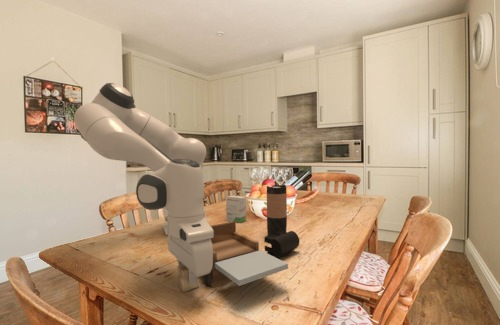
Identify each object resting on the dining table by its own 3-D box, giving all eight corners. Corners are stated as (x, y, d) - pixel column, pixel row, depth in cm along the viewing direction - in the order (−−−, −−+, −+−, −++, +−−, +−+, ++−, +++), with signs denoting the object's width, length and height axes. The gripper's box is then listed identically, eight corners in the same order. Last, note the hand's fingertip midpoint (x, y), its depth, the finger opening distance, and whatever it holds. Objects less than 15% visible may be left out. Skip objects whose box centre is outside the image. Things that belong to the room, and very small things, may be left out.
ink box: (225, 221, 130) (225, 196, 129) (232, 218, 134) (231, 195, 134) (240, 223, 125) (240, 198, 125) (246, 220, 130) (246, 196, 129)
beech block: (177, 285, 68) (177, 265, 68) (192, 280, 70) (192, 261, 70) (183, 291, 65) (183, 271, 65) (199, 286, 67) (198, 267, 67)
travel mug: (286, 241, 99) (285, 187, 98) (265, 240, 101) (265, 187, 100) (287, 235, 107) (287, 185, 106) (268, 234, 108) (267, 184, 107)
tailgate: (214, 262, 66) (239, 280, 57) (260, 250, 74) (288, 263, 65) (214, 270, 66) (239, 288, 57) (260, 256, 74) (288, 271, 65)
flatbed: (189, 269, 77) (188, 229, 77) (236, 256, 86) (236, 220, 86) (210, 288, 66) (209, 242, 66) (261, 271, 75) (261, 230, 75)
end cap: (281, 261, 82) (281, 239, 82) (263, 255, 87) (263, 235, 87) (299, 252, 89) (299, 232, 89) (282, 247, 94) (282, 228, 94)
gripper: (161, 218, 74) (162, 268, 74) (190, 237, 57) (192, 302, 57) (183, 214, 77) (184, 262, 78) (217, 232, 60) (218, 292, 61)
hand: (188, 279), depth 67 cm, fingers closed on beech block, 4 cm apart
